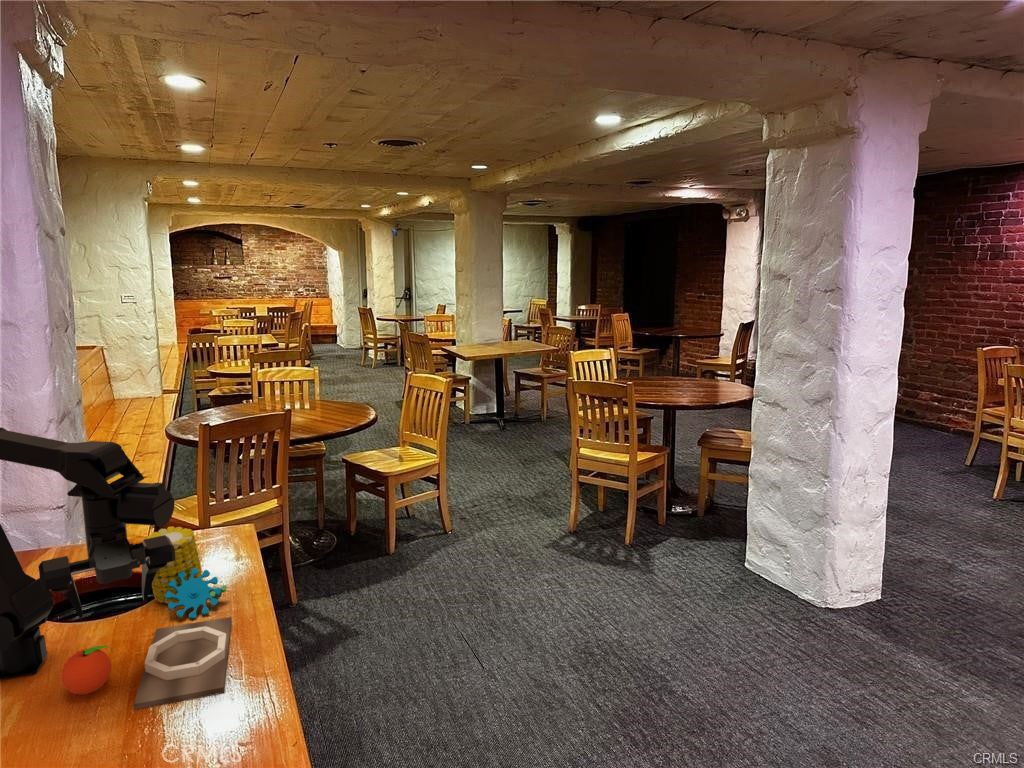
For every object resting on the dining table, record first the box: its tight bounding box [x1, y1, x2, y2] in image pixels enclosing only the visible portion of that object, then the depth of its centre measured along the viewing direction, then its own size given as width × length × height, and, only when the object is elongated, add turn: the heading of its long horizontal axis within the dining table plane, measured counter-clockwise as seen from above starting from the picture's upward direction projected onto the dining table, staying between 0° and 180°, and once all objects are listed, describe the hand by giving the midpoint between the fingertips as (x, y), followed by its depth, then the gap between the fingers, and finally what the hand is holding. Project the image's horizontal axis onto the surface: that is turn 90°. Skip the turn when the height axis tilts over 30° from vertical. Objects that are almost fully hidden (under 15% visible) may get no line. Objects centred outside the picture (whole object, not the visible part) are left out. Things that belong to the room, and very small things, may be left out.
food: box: [145, 526, 204, 605], centre depth 137 cm, size 15×12×10 cm
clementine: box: [60, 645, 113, 695], centre depth 109 cm, size 8×7×7 cm
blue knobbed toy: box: [165, 568, 228, 620], centre depth 134 cm, size 11×6×10 cm
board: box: [133, 616, 233, 711], centre depth 117 cm, size 13×22×1 cm, turn 19°
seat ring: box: [144, 626, 227, 680], centre depth 117 cm, size 12×12×2 cm
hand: (113, 608), depth 111 cm, fingers open, 9 cm apart
